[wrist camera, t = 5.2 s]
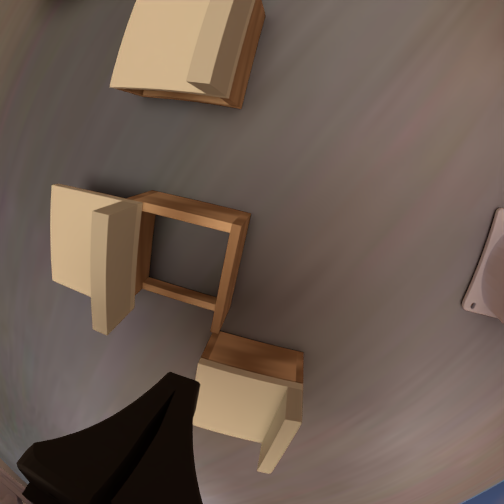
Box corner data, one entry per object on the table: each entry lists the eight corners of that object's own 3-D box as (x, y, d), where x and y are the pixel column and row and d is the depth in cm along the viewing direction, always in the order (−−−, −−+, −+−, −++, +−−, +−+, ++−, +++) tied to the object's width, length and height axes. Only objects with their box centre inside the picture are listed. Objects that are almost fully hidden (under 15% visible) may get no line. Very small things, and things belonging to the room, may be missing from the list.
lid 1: (142, 202, 16) (108, 215, 12) (134, 307, 18) (107, 335, 15) (57, 183, 16) (20, 192, 13) (57, 277, 18) (27, 296, 15)
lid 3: (303, 383, 18) (302, 422, 15) (274, 439, 20) (270, 473, 17) (200, 357, 18) (184, 392, 15) (191, 418, 21) (177, 450, 17)
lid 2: (258, -11, 11) (248, -44, 8) (228, 98, 13) (209, 83, 10) (146, -10, 12) (118, -34, 8) (115, 88, 14) (78, 79, 11)
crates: (389, 46, 14) (406, 27, 11) (278, 409, 23) (275, 438, 20) (168, 10, 15) (147, -10, 12) (120, 360, 24) (103, 382, 21)
